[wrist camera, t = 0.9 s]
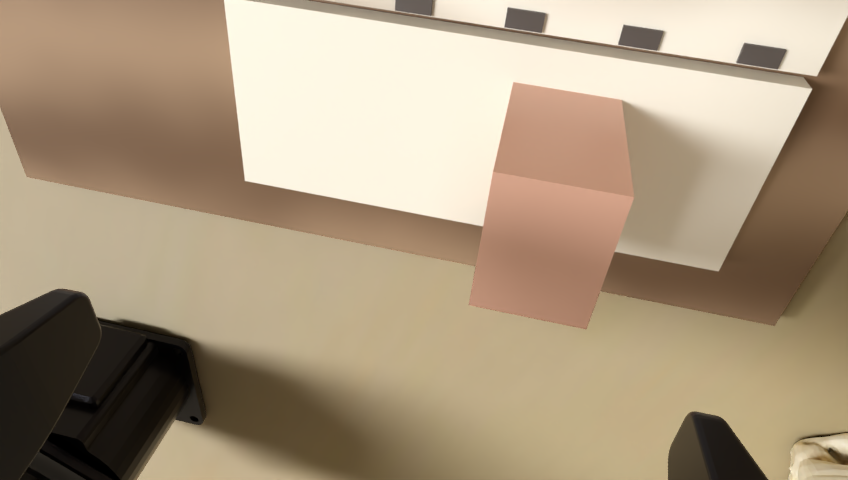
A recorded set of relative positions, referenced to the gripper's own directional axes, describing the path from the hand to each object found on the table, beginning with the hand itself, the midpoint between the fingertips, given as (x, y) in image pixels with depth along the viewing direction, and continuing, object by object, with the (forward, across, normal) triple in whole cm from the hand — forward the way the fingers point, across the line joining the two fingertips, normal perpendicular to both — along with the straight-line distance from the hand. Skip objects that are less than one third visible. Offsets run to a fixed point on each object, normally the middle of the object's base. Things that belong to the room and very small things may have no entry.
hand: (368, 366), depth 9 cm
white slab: (+12, -1, +2) cm, 12 cm away
